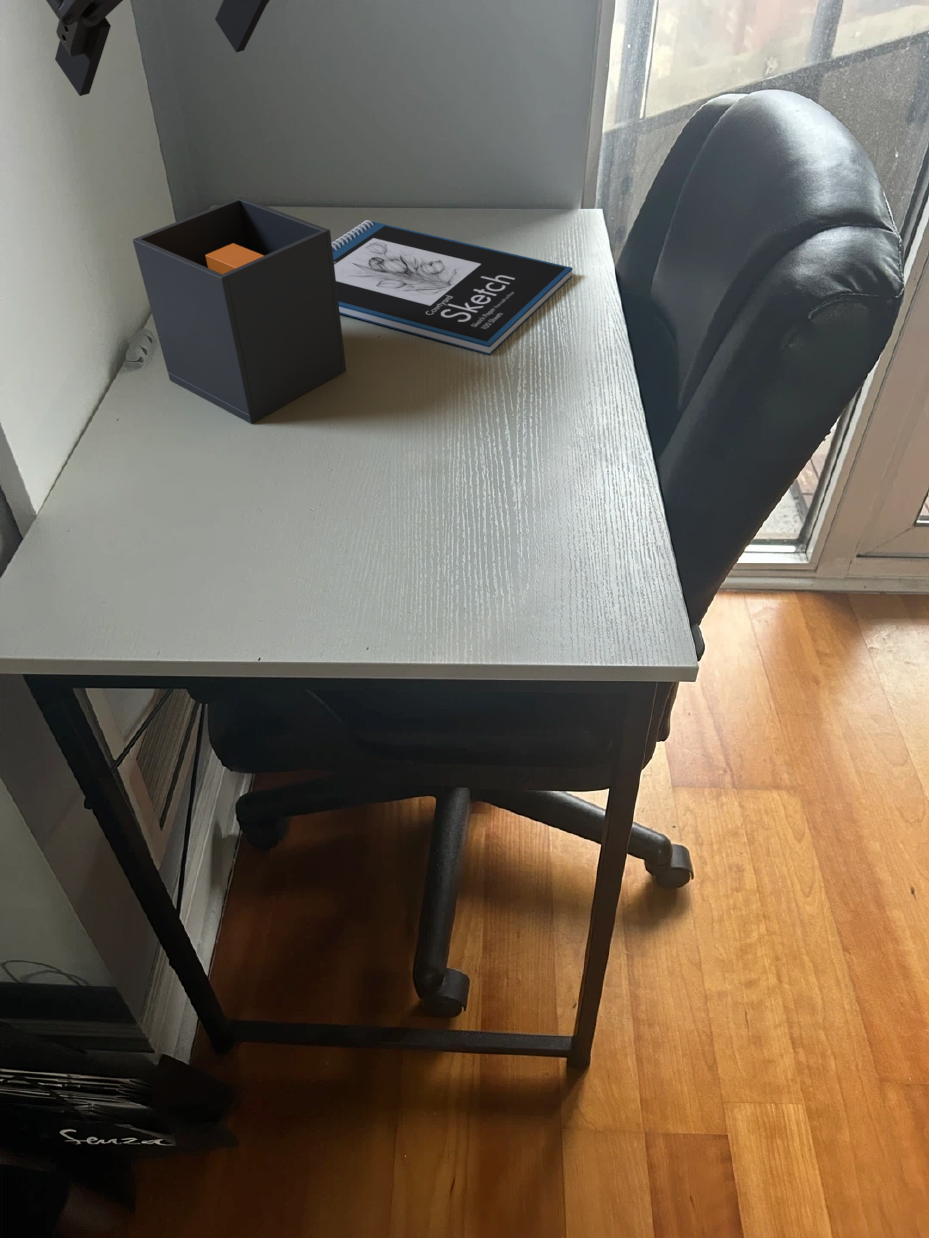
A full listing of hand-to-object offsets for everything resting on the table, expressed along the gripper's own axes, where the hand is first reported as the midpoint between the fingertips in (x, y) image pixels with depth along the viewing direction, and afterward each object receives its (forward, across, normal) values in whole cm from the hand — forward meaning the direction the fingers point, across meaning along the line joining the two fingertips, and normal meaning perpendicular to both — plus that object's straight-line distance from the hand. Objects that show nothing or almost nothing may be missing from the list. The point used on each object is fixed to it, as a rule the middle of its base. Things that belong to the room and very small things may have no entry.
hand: (154, 55), depth 67 cm
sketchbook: (+30, +36, -17) cm, 50 cm away
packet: (+29, +10, -17) cm, 35 cm away
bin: (+29, +10, -17) cm, 36 cm away
